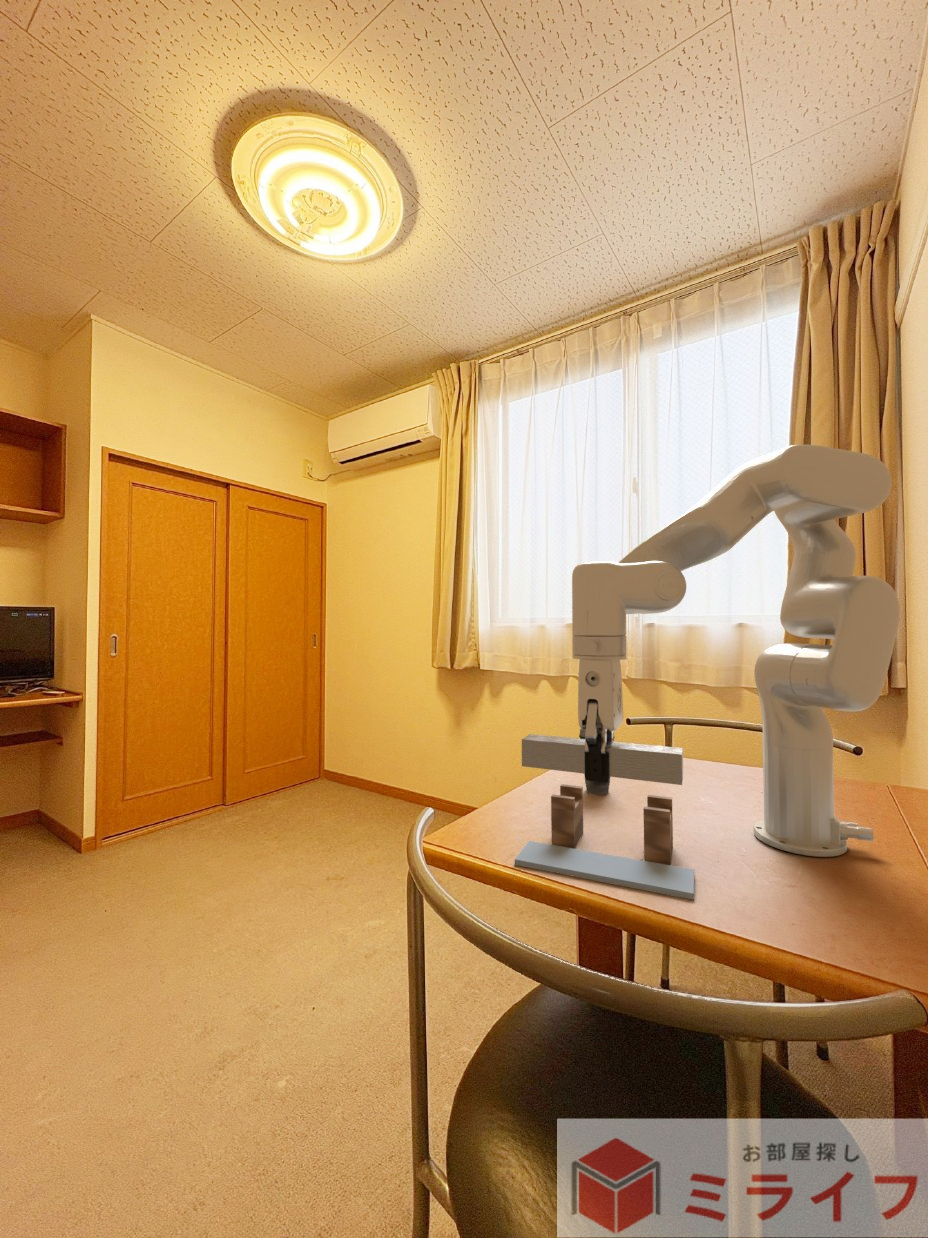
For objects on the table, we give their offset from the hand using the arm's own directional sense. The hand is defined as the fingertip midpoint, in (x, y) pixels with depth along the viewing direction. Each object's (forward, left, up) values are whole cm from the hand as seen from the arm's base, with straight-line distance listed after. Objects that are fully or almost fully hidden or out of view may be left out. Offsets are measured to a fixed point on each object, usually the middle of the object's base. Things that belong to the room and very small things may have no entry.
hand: (599, 775), depth 74 cm
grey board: (0, 0, -14) cm, 14 cm away
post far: (+7, -9, -14) cm, 18 cm away
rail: (0, 0, +1) cm, 1 cm away
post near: (-7, -9, -14) cm, 18 cm away
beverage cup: (+7, -35, -14) cm, 38 cm away
